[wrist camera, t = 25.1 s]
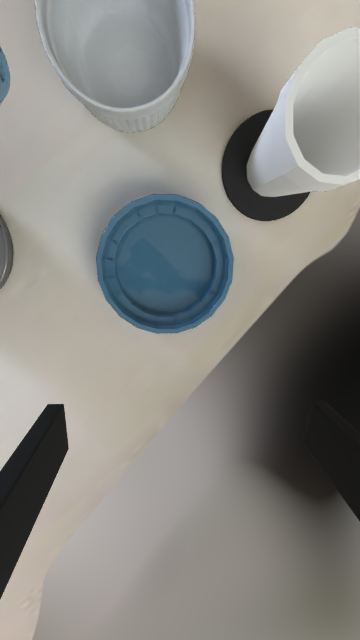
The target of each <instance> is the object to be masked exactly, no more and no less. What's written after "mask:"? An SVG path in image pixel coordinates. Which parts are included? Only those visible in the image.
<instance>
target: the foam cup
mask: <svg viewBox="0 0 360 640" xmlns="http://www.w3.org/2000/svg"><path fill="white" fill-rule="evenodd" d="M246 168H247V180H248V182H249V183H250V185H251V187H252V189H253V190H254V191H255V192H257V193H258V194H260V195H261V196H266V197H278V196H284V195H291V194H298V193H304V192H311V191H324V192H327V191H330V190H332V189H335V188H338V187H341V186H344V185H346V184H349V183H351V182H354V181H356V180H359V179H360V28H355V27H350V28H348V29H346V30H343V31H341V32H339V33H336V34H334V35H332V36H330V37H327V38H325V39H323V40H321V41H320V42H319V43H318V44H317V46H316V47H315V48H314V49H313V50H312V51H311V53H310V54H309V55H308V56H307V57H306V58H305V60H304V61H303V62H302V63H301V64H300V65H299V66H298V68H297V69H296V70H295V72H294V73H293V74H292V76H291V77H290V78H289V80H288V81H287V83H286V84H285V85H284V87H283V88H282V89H281V92H280V95H279V98H278V101H277V104H276V106H275V108H274V110H273V112H272V114H271V116H270V117H269V119H268V121H267V123H266V125H265V127H264V129H263V131H262V133H261V135H260V136H259V138H258V140H257V142H256V144H255V146H254V148H253V150H252V152H251V154H250V157H249V160H248V163H247V166H246Z"/></svg>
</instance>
